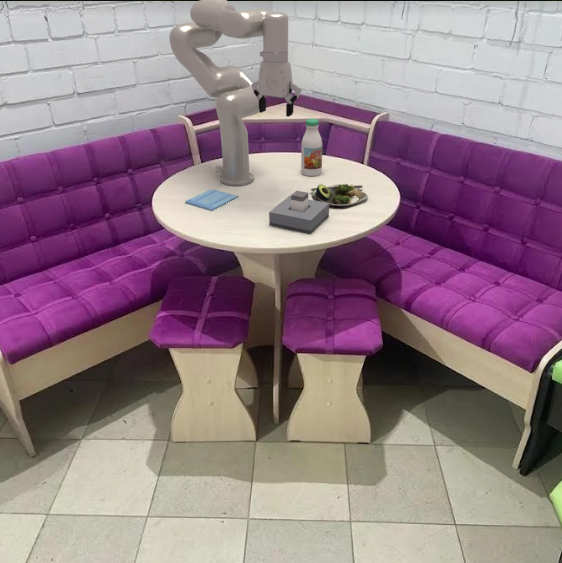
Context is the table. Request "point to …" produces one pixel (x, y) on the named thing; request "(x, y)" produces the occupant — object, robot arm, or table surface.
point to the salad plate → (338, 195)
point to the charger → (299, 201)
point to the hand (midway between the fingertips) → (275, 113)
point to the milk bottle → (311, 149)
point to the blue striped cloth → (211, 199)
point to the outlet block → (299, 216)
